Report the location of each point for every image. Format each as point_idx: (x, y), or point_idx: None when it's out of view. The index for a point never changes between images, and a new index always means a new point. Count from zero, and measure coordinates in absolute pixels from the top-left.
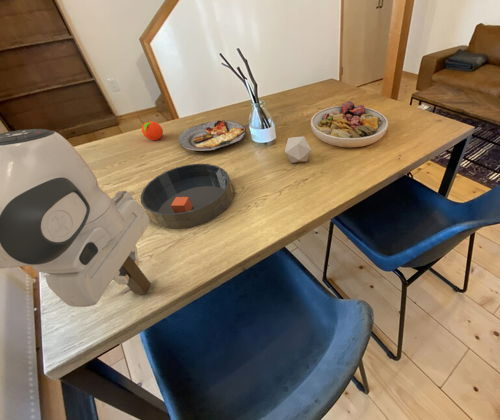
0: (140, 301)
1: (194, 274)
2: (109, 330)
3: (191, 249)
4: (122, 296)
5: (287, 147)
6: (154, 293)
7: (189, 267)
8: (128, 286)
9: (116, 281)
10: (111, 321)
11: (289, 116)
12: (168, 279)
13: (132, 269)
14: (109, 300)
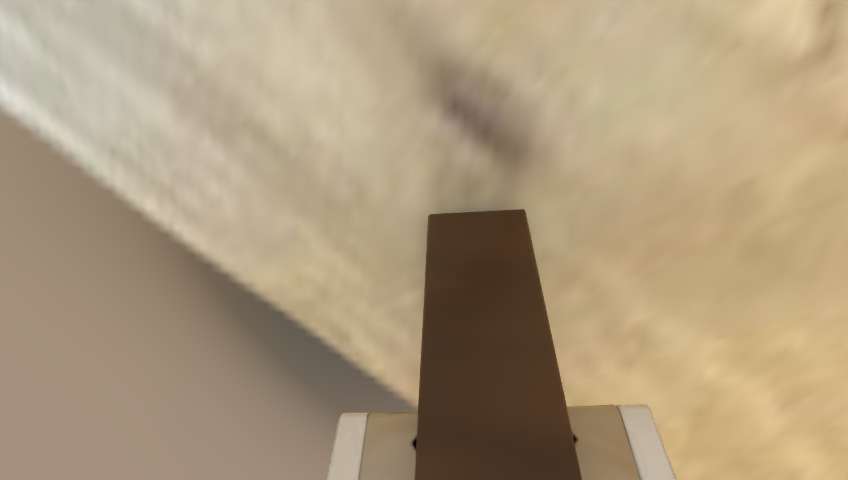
0: (384, 255)
1: None
2: (139, 171)
3: (842, 385)
4: (412, 101)
5: None
6: None
7: (660, 418)
8: (425, 288)
9: (331, 467)
10: (198, 145)
11: None
12: (570, 344)
13: None
14: (360, 4)
